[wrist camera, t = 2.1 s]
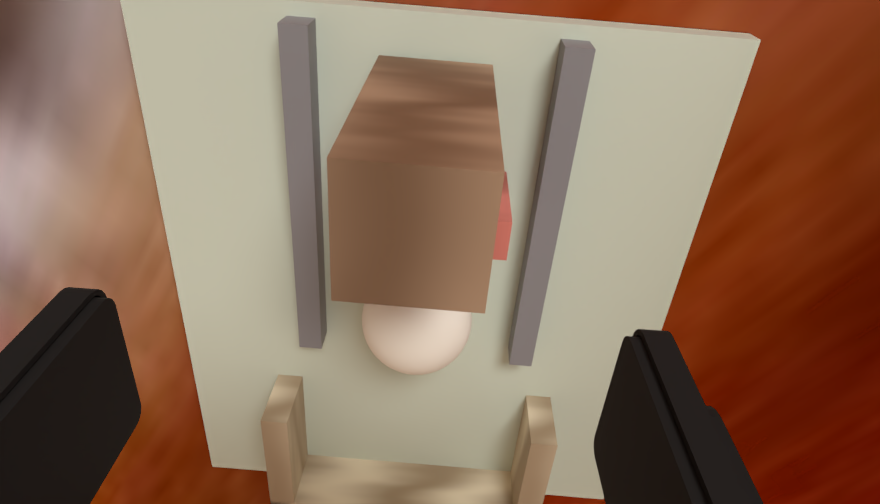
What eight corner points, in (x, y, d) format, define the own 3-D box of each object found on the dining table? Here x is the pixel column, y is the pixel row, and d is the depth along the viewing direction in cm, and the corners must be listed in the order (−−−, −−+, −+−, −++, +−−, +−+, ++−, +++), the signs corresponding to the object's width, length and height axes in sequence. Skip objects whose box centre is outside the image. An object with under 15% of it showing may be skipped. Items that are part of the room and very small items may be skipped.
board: (749, 33, 21) (775, 48, 20) (600, 483, 35) (607, 518, 33) (131, -19, 21) (99, -9, 20) (218, 452, 35) (204, 485, 33)
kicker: (521, 67, 21) (549, 176, 14) (501, 206, 24) (515, 359, 16) (350, 52, 21) (282, 153, 14) (351, 193, 24) (295, 341, 16)
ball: (476, 248, 26) (477, 314, 22) (466, 330, 28) (465, 403, 24) (370, 239, 26) (352, 303, 22) (369, 322, 28) (353, 393, 24)
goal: (550, 397, 30) (557, 445, 27) (529, 487, 34) (533, 537, 31) (278, 374, 30) (260, 421, 27) (287, 466, 34) (272, 515, 31)
